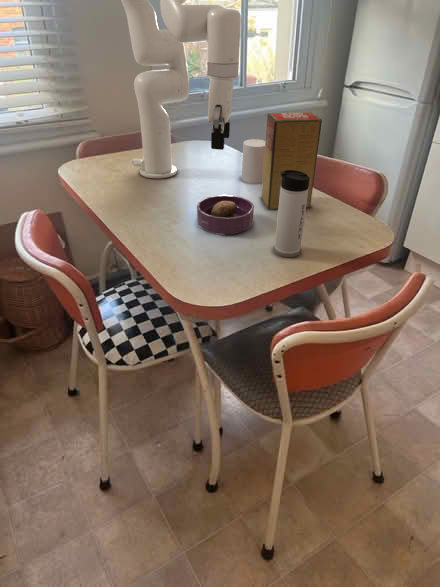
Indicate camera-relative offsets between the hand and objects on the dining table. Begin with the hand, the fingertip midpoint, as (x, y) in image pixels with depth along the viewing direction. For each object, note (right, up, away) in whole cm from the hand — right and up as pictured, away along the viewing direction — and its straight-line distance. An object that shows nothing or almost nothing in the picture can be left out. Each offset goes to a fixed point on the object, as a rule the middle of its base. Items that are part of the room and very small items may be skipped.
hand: (220, 143), depth 115 cm
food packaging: (+20, -12, +19) cm, 30 cm away
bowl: (+1, -20, +6) cm, 21 cm away
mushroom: (+1, -20, +6) cm, 21 cm away
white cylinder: (+11, -1, +34) cm, 36 cm away
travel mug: (+16, -29, -6) cm, 34 cm away
